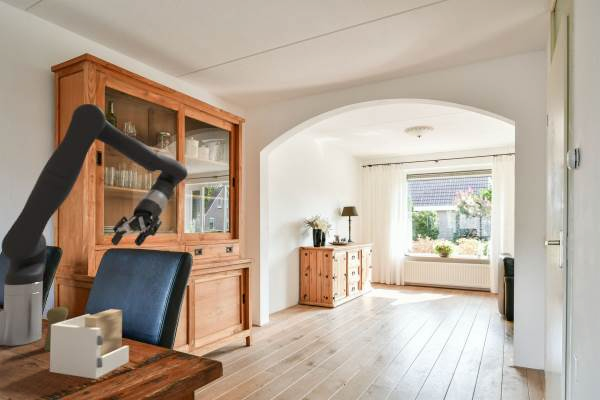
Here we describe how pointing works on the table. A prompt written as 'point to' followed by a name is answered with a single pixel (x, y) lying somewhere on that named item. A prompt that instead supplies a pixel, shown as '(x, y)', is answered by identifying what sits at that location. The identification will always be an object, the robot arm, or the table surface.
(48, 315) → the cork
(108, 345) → the block
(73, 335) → the white open box
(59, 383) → the table surface
